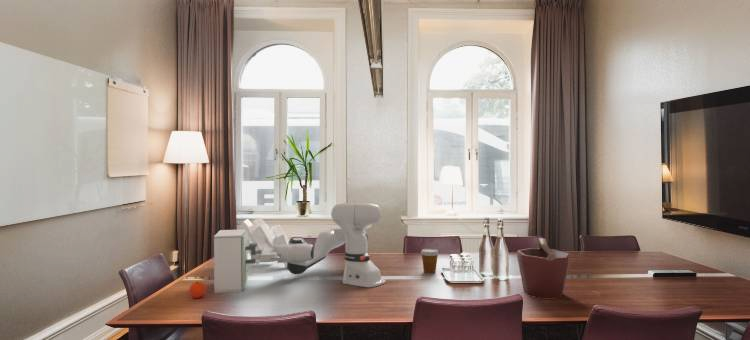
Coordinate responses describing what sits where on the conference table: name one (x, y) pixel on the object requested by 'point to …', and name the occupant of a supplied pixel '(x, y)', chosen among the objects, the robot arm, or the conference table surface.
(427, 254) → the disposable coffee cup
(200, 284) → the clementine
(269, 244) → the pile of blocks
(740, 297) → the conference table surface
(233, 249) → the storage box
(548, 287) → the bucket
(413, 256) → the conference table surface
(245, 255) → the hatch
